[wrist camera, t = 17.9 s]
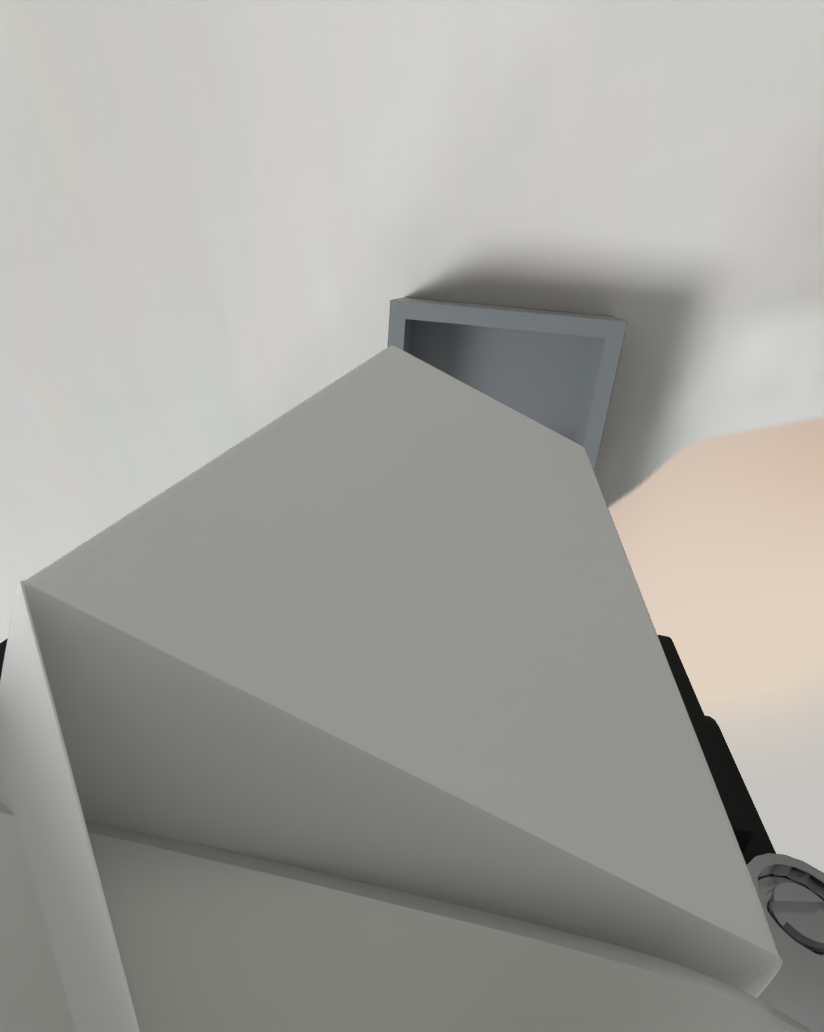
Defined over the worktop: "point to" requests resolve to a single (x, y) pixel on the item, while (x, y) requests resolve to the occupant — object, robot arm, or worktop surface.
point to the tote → (520, 358)
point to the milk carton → (373, 688)
